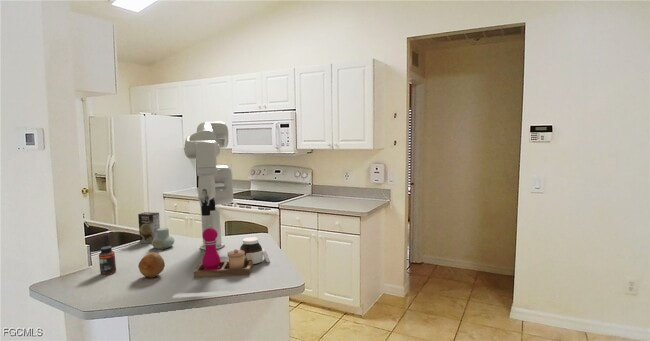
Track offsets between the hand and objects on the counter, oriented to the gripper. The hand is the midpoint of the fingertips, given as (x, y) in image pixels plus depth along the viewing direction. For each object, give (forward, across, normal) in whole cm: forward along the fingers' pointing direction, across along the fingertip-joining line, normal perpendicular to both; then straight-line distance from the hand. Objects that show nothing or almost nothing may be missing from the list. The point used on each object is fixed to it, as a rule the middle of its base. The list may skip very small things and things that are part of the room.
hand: (208, 212), depth 154 cm
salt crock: (+25, 0, +10) cm, 27 cm away
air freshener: (+27, -45, -35) cm, 63 cm away
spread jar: (+26, -11, +17) cm, 33 cm away
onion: (+26, -2, -25) cm, 36 cm away
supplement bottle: (+26, -9, -46) cm, 54 cm away
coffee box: (+27, -58, -47) cm, 79 cm away
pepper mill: (+25, 0, 0) cm, 25 cm away
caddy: (+26, 0, +5) cm, 27 cm away
